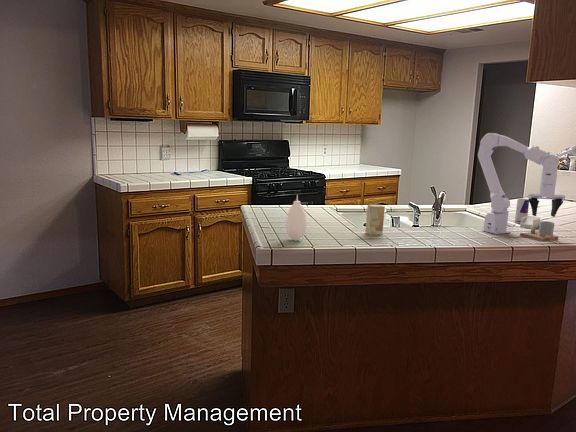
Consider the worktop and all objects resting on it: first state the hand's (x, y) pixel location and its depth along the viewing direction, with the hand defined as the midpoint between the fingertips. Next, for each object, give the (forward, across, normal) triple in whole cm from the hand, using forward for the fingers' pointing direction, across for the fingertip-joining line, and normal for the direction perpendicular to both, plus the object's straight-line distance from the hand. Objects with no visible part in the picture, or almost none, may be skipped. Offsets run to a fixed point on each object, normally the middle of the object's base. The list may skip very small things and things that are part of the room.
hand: (543, 216), depth 201 cm
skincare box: (+10, +71, +8) cm, 72 cm away
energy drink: (+10, -5, -34) cm, 36 cm away
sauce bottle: (+10, +103, +26) cm, 107 cm away
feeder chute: (+10, -5, -24) cm, 26 cm away
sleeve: (+8, -1, +2) cm, 9 cm away
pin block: (+9, +1, 0) cm, 9 cm away
